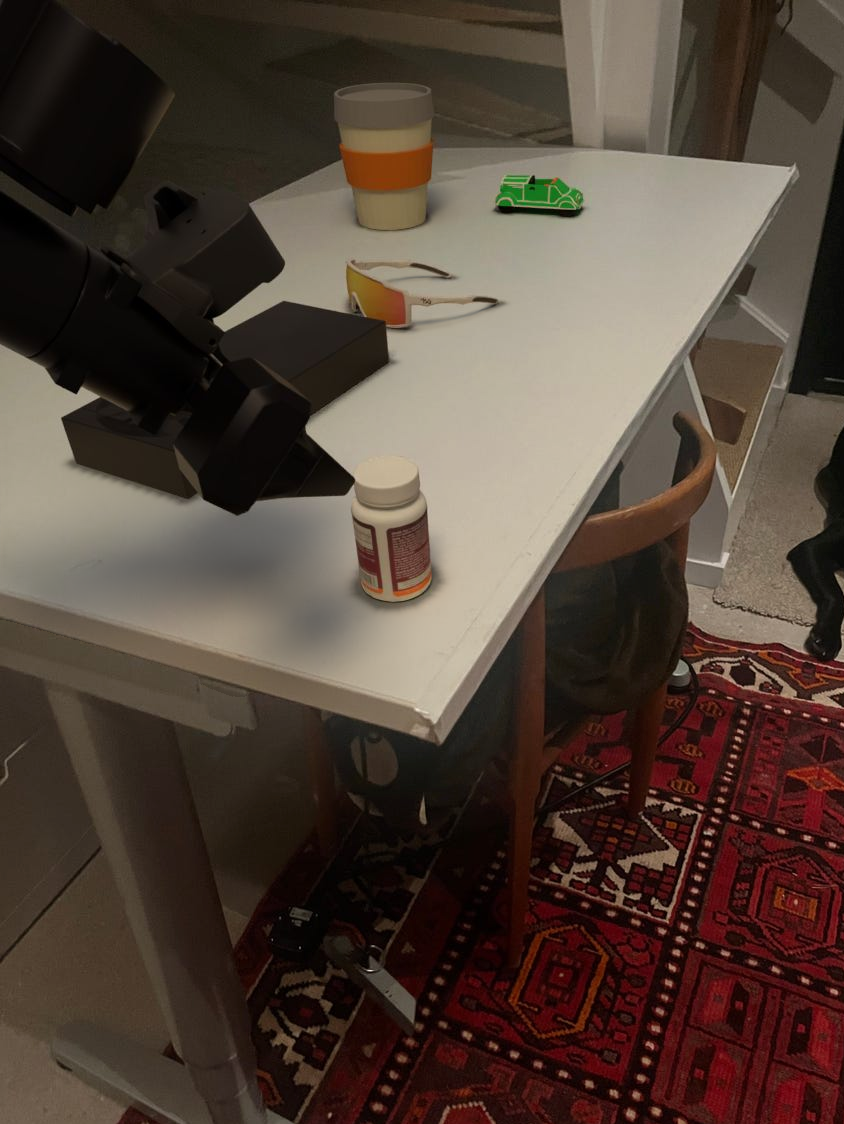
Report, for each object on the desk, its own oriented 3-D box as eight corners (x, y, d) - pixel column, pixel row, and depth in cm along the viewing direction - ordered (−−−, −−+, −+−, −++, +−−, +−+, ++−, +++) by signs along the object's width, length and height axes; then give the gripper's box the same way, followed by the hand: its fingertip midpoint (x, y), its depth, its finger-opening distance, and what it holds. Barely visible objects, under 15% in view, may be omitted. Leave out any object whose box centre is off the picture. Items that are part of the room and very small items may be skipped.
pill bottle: (436, 562, 63) (430, 452, 58) (426, 605, 60) (418, 492, 54) (368, 559, 64) (355, 450, 58) (353, 602, 60) (339, 489, 55)
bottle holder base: (188, 498, 70) (176, 451, 68) (75, 463, 75) (60, 417, 72) (389, 361, 89) (386, 320, 86) (289, 339, 93) (283, 300, 91)
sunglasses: (323, 297, 102) (323, 250, 99) (440, 289, 109) (444, 245, 106) (384, 339, 92) (386, 288, 90) (507, 327, 100) (513, 280, 97)
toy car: (491, 213, 126) (490, 178, 123) (500, 202, 129) (500, 168, 127) (578, 218, 123) (579, 182, 120) (584, 207, 127) (586, 172, 124)
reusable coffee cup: (346, 236, 119) (332, 104, 109) (344, 209, 128) (331, 84, 119) (443, 231, 120) (437, 99, 110) (434, 204, 129) (428, 80, 120)
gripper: (224, 185, 34) (484, 392, 45) (90, 104, 46) (323, 283, 57) (69, 440, 36) (357, 576, 47) (-19, 297, 48) (227, 433, 59)
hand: (314, 452), depth 53 cm, fingers open, 9 cm apart
